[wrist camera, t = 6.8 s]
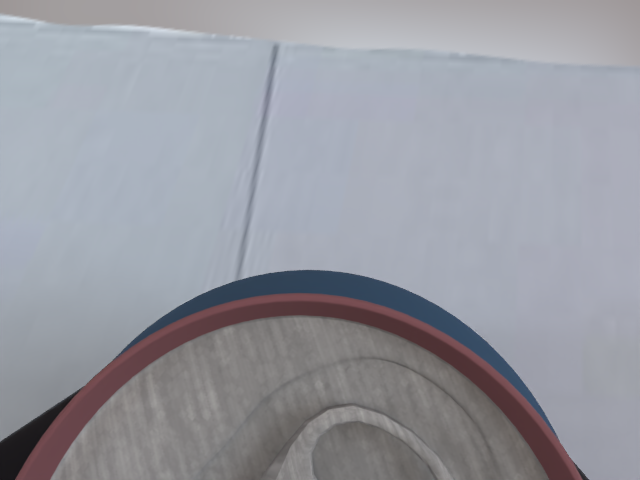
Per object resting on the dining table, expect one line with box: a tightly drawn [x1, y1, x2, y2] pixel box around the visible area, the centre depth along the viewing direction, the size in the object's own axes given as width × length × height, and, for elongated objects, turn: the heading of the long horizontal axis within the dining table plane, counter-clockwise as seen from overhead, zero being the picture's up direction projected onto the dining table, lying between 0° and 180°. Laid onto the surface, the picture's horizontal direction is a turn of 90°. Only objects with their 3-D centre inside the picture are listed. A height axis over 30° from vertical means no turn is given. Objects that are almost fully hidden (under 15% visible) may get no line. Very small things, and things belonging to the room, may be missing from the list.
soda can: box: [15, 270, 583, 480], centre depth 10 cm, size 7×7×12 cm
